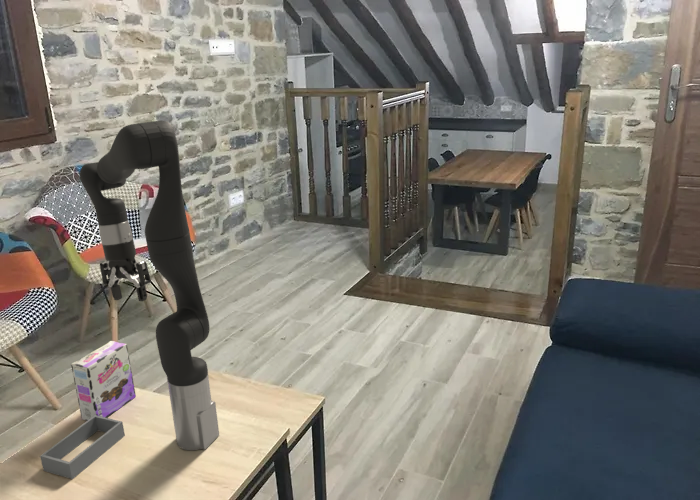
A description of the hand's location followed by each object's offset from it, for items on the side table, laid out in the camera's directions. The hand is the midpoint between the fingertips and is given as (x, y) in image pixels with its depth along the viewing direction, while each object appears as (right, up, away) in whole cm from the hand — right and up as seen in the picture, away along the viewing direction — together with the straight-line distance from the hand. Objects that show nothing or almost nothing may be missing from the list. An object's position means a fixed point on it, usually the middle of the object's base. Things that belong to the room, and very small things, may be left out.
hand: (130, 299), depth 155 cm
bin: (-5, -35, -15) cm, 38 cm away
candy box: (-6, -29, +3) cm, 30 cm away
